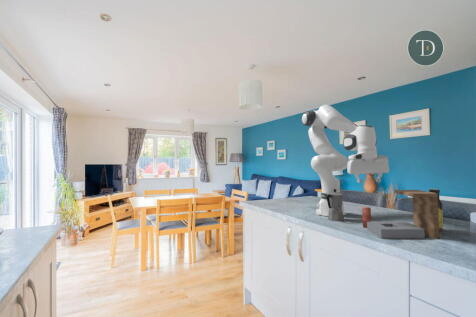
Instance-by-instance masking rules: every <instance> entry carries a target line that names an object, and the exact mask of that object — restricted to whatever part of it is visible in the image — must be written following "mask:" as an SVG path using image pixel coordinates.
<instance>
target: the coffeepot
mask: <svg viewBox="0 0 476 317" xmlns="http://www.w3.org/2000/svg"><path fill="white" fill-rule="evenodd" d="M343 199H344V193H341V192H340V193H337V192H336V189H334V192H332V193H328V194H327V202H328V206H329V215H328V216H327V219H328V220H329V221H332V222H342V221H344V220H345V215H343V211H342V201H343ZM343 202H344V201H343Z"/></svg>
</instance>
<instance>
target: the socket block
mask: <svg viewBox="0 0 476 317" xmlns="http://www.w3.org/2000/svg"><path fill="white" fill-rule="evenodd" d="M366 230H367V231H369V232H370V233H372V234H373V235H375V236H377V237H378V238H380V239H426V238H425V236H426V235H425V234H424V229H423V228H420V227H418V226H415V225H414V223H413V224H412V223H410V222H408V221H398V220H397V221H371V222H367V228H366Z"/></svg>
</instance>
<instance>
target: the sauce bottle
mask: <svg viewBox="0 0 476 317" xmlns="http://www.w3.org/2000/svg"><path fill="white" fill-rule="evenodd" d="M440 190H441V189H439V188H429V189H428V192H433V193H437V198H438V219H439V232H442V231H443V227H444V226H443V225H444V224H443V223H444V222H443V220H444V219H443V218H444V216H443V215H444V214H443V213H444V212H443V203H442V201H441V198H440V192H441V191H440Z"/></svg>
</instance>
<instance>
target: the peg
mask: <svg viewBox="0 0 476 317" xmlns="http://www.w3.org/2000/svg"><path fill="white" fill-rule="evenodd" d="M371 208H372V207H369V206H368V207H367V206H362V207H361V215H362V216H361V218H362V228H365V229H367V222H372V209H371Z"/></svg>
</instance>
